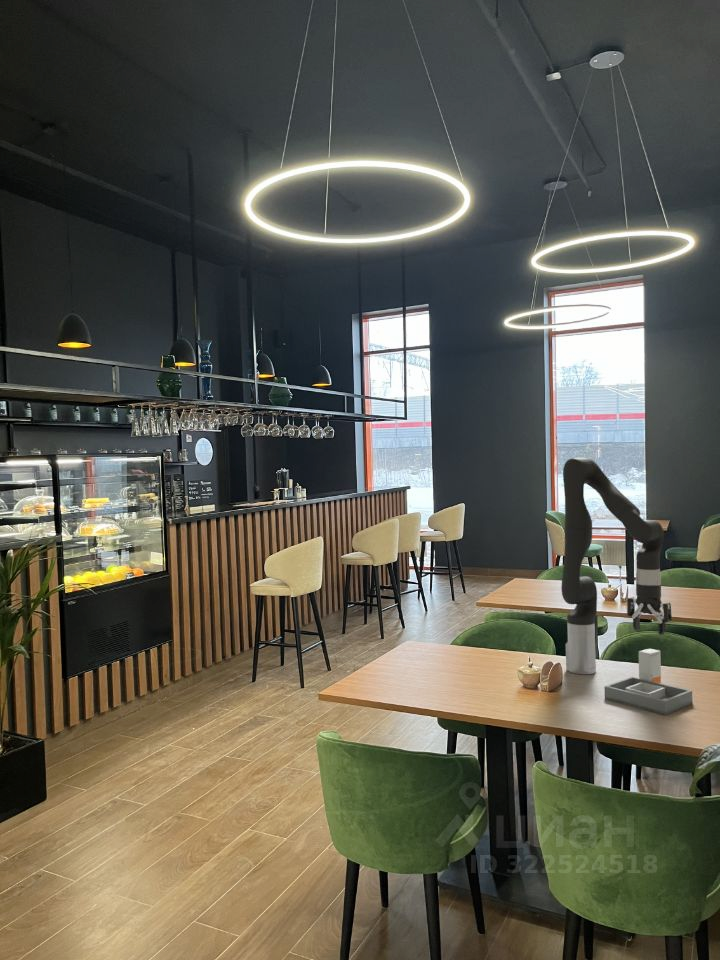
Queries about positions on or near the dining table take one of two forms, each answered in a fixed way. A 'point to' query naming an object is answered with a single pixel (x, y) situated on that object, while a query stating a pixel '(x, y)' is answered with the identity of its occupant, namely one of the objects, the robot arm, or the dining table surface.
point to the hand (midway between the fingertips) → (649, 632)
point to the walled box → (648, 695)
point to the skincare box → (650, 665)
